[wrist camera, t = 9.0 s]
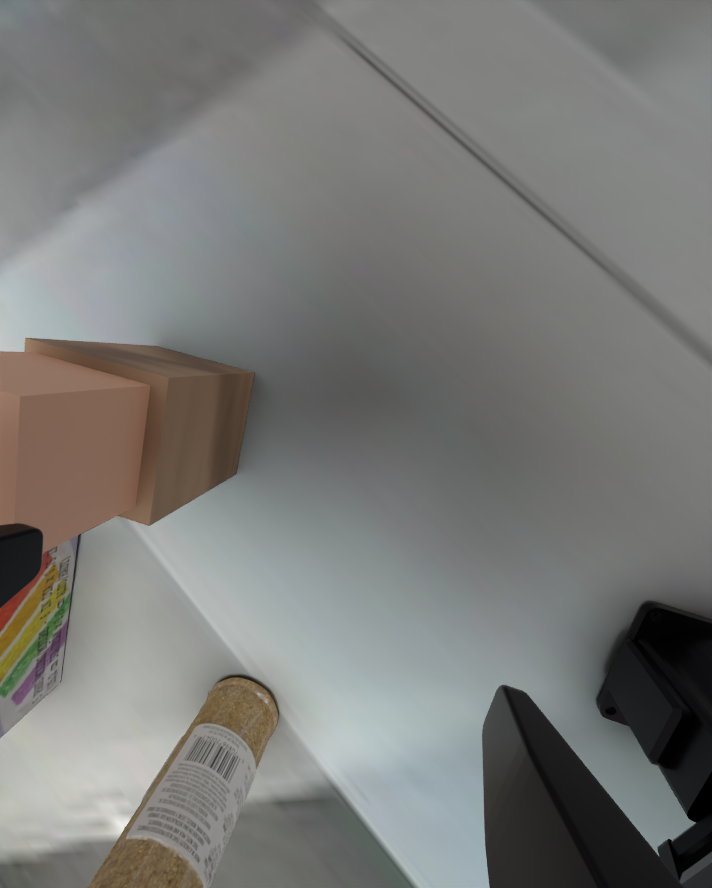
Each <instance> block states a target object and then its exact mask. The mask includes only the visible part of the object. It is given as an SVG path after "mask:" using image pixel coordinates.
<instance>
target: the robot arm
mask: <svg viewBox="0 0 712 888" xmlns="http://www.w3.org/2000/svg"><path fill="white" fill-rule="evenodd" d="M43 539H44V536H43V533H42V531H41V530H40V529H38V528H35V527H32V526H29V525H26V524H22V523H15V524H6V525H0V609H1V608H2V607H3V606H4V605H5V604H6V603H7V602H9V601H10V600H11V599H12V598H13V597H14V596H15V595H17V594H18V593H19V592H20V591H21V590H22V589H24V588H25V587H26V586H27V585H28V584H29V583H30V582H32V581H33V580H34V579H35V578H36V576H37V575H38V574H39V572H40V570H41V567H42V555H43ZM656 612H658V614H657V615H656V616H655V617H651V615H652V614H653V613H656ZM609 706H612V707H611V708H607V707H609ZM597 707H598V709H599V711H600V713H601V715H602V716H603V717H605V718H607V719H609V720H612V721H615V722H618V723H621V724H624V725H627V726H630V728H631V730H632V731H633V733H634V735H635V737H636V738H637V740H638V742H639V744H640V746H641V747H642V749H643V751H644V753H645V754H646V756H647V758H648V760H649V761H650V762H651V764H654V765H657V766H658V767H659V768H660V770H661V772H662V774H663V775H664V777H665V779H666V780H667V782H668V784H669V786H670V787H671V789H672V791H673V792H674V794H675V796H676V798H677V799H678V801H679V803H680V804H681V806H682V808H683V810H684V811H685V813H686V815H687V816H688V818H689V819H690V820H692V821H694V822H696V823H695V824H694V825H693V826H691V827H690V828H689V829H687V830H686V831H685V832H683V833H682V834H681V835H679V836H678V837H677V838H675V839H674V840H673V841H672V840H670V839H668V840H666V841H665V842H664V843H662V844H661V845H660V846H658V853H659V856H660V857H659V856H658V855H657V853H656V852H655V851H654V850H653V848H652V847H651V846H650V845H649V844H648V842H647V841H646V840H645V839H644V837H643V836H642V835H641V834H640V832H639V831H638V830H637V829H636V828H635V826H634V825H633V824H632V823H631V821H630V820H629V819H628V818H627V816H626V815H625V814H624V813H623V811H622V810H621V809H620V808H619V807H618V805H617V804H616V803H615V802H614V800H613V799H612V798H611V797H610V795H609V794H608V793H607V792H606V790H605V789H604V788H603V787H602V786H601V784H600V783H599V782H598V781H597V779H596V778H595V777H594V776H593V774H592V773H591V772H590V771H589V770H588V768H587V767H586V766H585V765H584V763H583V762H582V761H581V760H580V758H579V757H578V756H577V755H576V753H575V752H574V751H573V750H572V749H571V747H570V746H569V745H568V744H567V742H566V741H565V740H564V739H563V737H562V736H561V735H560V734H559V733H558V731H557V730H556V729H555V728H554V726H553V725H552V724H551V723H550V721H549V720H548V719H547V718H546V716H545V715H544V714H543V713H542V712H541V710H540V709H539V708H538V707H537V705H536V704H535V703H534V702H533V700H532V699H531V698H530V697H529V696H528V695H527V693H525V692H524V691H522V690H519V689H516V688H513V687H510V686H507V685H501V686H500V687H499V688H498V689H497V691H496V693H495V696H494V698H493V701H492V703H491V706H490V708H489V711H488V713H487V716H486V718H485V721H484V725H483V732H482V747H483V786H484V825H485V846H486V857H487V867H488V876H489V885H490V888H712V620H711V619H707V618H704V617H701V616H698V615H694V614H691V613H688V612H684V611H681V610H678V609H674V608H671V607H668V606H664V605H661V604H658V603H647V604H646V605H644V606H643V607H642V609H641V611H640V613H639V615H638V617H637V619H636V621H635V623H634V625H633V627H632V629H631V631H630V633H629V635H628V638H627V640H626V641H625V642H624V643H623V645H622V647H621V649H620V651H619V653H618V655H617V657H616V659H615V662H614V664H613V666H612V668H611V670H610V672H609V674H608V676H607V678H606V680H605V685H604V687H603V690H602V692H601V694H600V696H599V698H598V700H597Z"/></svg>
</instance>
